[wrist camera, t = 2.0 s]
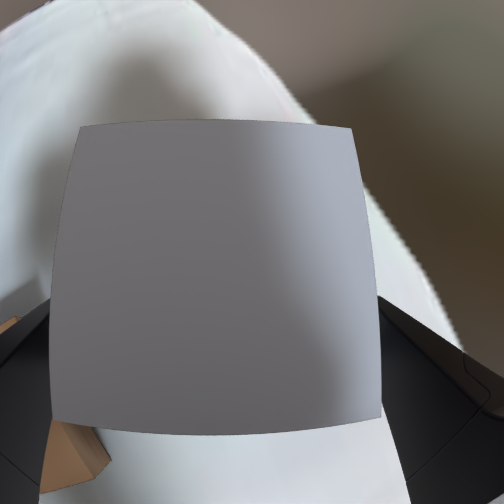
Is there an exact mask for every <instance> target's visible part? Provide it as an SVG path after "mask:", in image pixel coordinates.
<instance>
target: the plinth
mask: <svg viewBox="0 0 504 504" xmlns="http://www.w3.org/2000/svg"><path fill="white" fill-rule="evenodd" d="M21 318H22V317H17V316H14V317H13V318H11V319H10V320H8V321H6V322H5V323H3V324H2V325H0V334H1V333H2V332H4V331H5V330H6V329H8V328H9V327H10V326H12V325H13V324H14V323H16V322H17V321H19V320H20V319H21ZM110 461H111V459H110V457H109V456H108V454H107V453H106V451H105V449H104V448H103V446H102V444H101V443H100V441H99V440H98V438H97V436H96V435H95V433H94V431H93V429H92V428H91V427H90V426H84V425H78V424H72V423H66V422H61V421H56V420H53V417H52V422H51V426H50V431H49V436H48V441H47V447H46V452H45V458H44V464H43V470H42V477H41V484H40V494H43V493H47V492H51V491H54V490H58V489H62V488H65V487H69V486H72V485H76V484H79V483H82V482H85V481H89V480H92V479H94V478H95V477H96V476H97V475H98V474H99V473H100V472H101V471H102V470H103V469H104V468H105V467H106V466H107V465H108V464H109V463H110Z"/></svg>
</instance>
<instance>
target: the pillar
mask: <svg viewBox="0 0 504 504" xmlns="http://www.w3.org/2000/svg"><path fill="white" fill-rule="evenodd" d="M49 368H50V389H51V403H52V414H53V420H56V421H61V422H66V423H72V424H78V425H84V426H90V427H97V428H104V429H112V430H120V431H130V432H141V433H154V434H171V435H248V434H265V433H279V432H290V431H299V430H308V429H316V428H324V427H331V426H337V425H343V424H349V423H355V422H361V421H366V420H371V419H376V418H381V349H380V328H379V313H378V300H377V289H376V278H375V269H374V260H373V251H372V243H371V236H370V229H369V222H368V215H367V209H366V202H365V196H364V191H363V185H362V179H361V174H360V169H359V164H358V159H357V154H356V149H355V145H354V140H353V135H352V131H351V129H349V128H342V127H333V126H324V125H314V124H303V123H291V122H276V121H257V120H224V119H191V120H158V121H139V122H125V123H113V124H102V125H92V126H84V127H80V131H79V134H78V138H77V142H76V145H75V149H74V153H73V157H72V161H71V165H70V169H69V174H68V178H67V183H66V187H65V192H64V197H63V203H62V208H61V214H60V220H59V226H58V232H57V239H56V247H55V255H54V264H53V274H52V285H51V300H50V322H49Z"/></svg>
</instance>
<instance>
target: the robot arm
mask: <svg viewBox="0 0 504 504" xmlns="http://www.w3.org/2000/svg"><path fill="white" fill-rule="evenodd" d="M50 300H51V298H49V299H48V300H47V301H45V302H44V303H42V304H41V305H39V306H38V307H37V308H35V309H34V310H32V311H31V312H30V313H28V314H27V315H25V316H24V317H23V318H21V319H20V320H19V321H17V322H16V323H14V324H13V325H12V326H10V327H9V328H8V329H6V330H5V331H4V332H2V333H1V334H0V504H38V503H39V494H40V484H41V477H42V470H43V464H44V458H45V452H46V447H47V441H48V436H49V431H50V426H51V422H52V417H53V414H52V403H51V389H50V368H49V322H50ZM377 300H378V313H379V328H380V349H381V401H382V404H383V408H384V411H385V414H386V417H387V420H388V423H389V426H390V430H391V433H392V436H393V439H394V443H395V446H396V449H397V453H398V456H399V460H400V463H401V467H402V470H403V474H404V478H405V481H406V486H407V489H408V493H409V497H410V501H411V504H504V378H503V377H501V376H500V375H498V374H496V373H495V372H493V371H491V370H490V369H488V368H486V367H485V366H483V365H482V364H480V363H479V362H477V361H476V360H474V359H473V358H471V357H470V356H469V355H467V354H466V353H464V352H463V353H462V351H461V350H460V349H458V348H457V347H455V346H454V345H453V344H451V343H450V342H448V341H447V340H445V339H444V338H442V337H441V336H439V335H438V334H436V333H435V332H433V331H432V330H430V329H429V328H428V327H426V326H425V325H423V324H422V323H420V322H419V321H417V320H416V319H414V318H413V317H411V316H410V315H408V314H407V313H405V312H404V311H402V310H401V309H399V308H398V307H396V306H394V305H393V304H391V303H390V302H388V301H387V300H385V299H384V298H382V297H381V296H377Z"/></svg>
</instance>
